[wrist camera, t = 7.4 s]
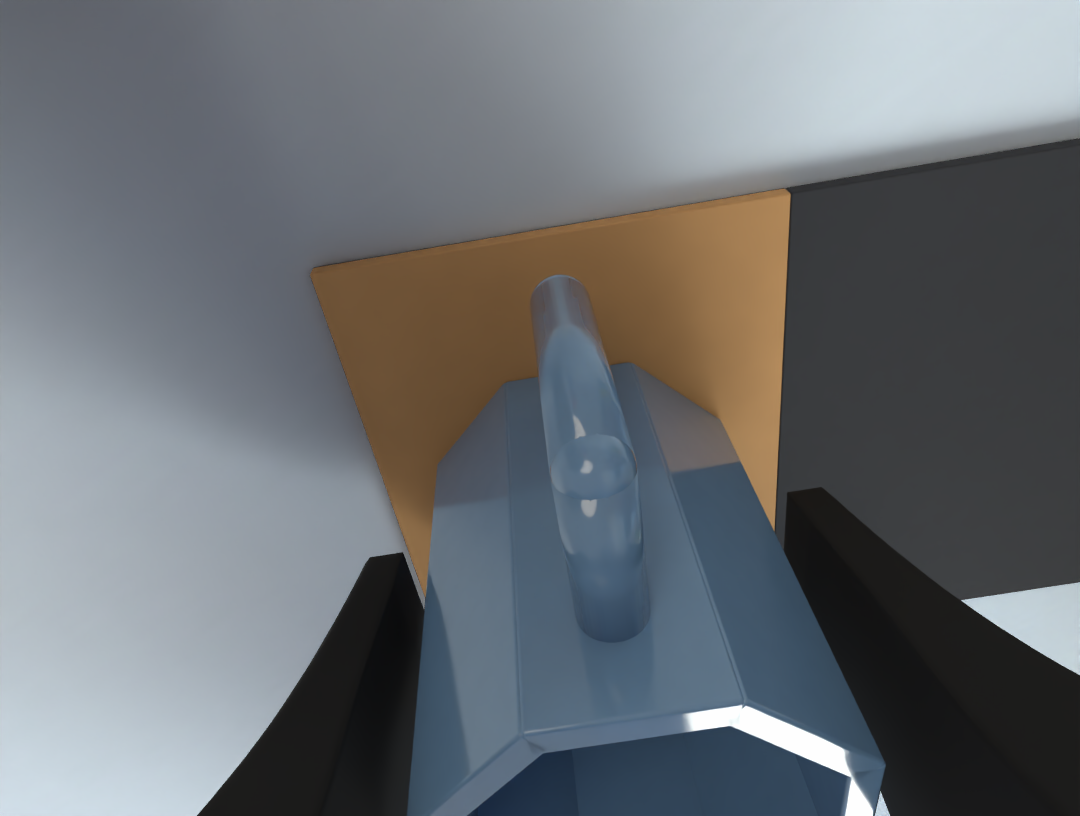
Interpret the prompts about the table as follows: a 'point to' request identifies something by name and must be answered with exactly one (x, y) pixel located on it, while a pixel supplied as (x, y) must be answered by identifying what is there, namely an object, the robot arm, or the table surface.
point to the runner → (785, 349)
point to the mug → (619, 612)
